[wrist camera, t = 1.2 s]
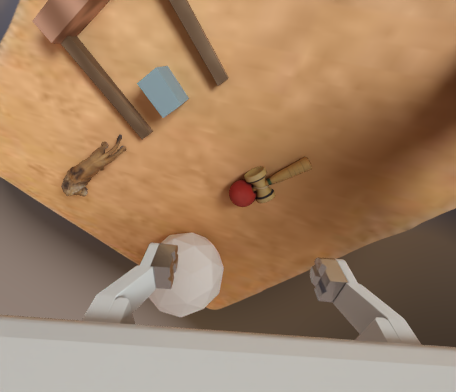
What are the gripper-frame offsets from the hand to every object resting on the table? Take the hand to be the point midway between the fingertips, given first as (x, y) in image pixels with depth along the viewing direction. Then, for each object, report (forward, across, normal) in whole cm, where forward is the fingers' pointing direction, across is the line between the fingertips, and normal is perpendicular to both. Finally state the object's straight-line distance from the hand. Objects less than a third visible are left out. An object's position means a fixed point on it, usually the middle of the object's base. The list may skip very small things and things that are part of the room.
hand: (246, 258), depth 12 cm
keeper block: (+34, +13, -4) cm, 36 cm away
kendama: (+34, -8, +11) cm, 37 cm away
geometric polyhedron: (+35, +8, +36) cm, 50 cm away
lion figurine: (+35, +28, +11) cm, 46 cm away
